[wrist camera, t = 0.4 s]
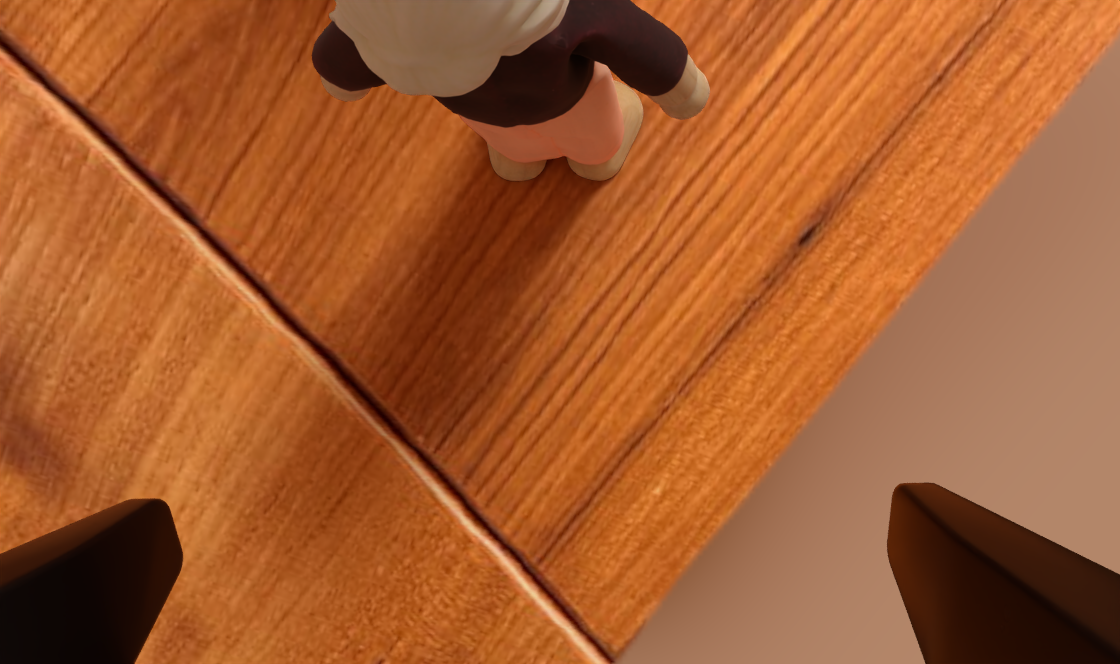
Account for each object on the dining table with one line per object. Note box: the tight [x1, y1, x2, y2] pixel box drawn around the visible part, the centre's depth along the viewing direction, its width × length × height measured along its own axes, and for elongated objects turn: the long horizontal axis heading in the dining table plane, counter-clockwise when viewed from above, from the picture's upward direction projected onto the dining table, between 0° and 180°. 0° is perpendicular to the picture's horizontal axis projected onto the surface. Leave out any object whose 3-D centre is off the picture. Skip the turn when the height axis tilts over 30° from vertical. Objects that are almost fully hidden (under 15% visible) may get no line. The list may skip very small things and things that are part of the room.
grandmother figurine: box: [312, 0, 710, 181], centre depth 14 cm, size 8×4×13 cm, turn 98°
